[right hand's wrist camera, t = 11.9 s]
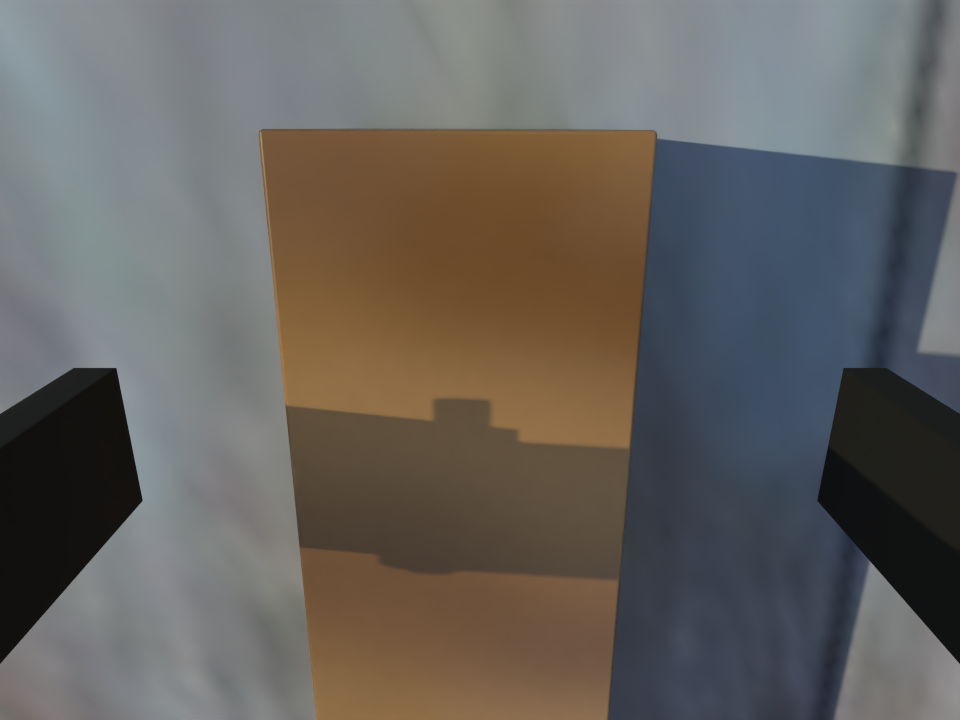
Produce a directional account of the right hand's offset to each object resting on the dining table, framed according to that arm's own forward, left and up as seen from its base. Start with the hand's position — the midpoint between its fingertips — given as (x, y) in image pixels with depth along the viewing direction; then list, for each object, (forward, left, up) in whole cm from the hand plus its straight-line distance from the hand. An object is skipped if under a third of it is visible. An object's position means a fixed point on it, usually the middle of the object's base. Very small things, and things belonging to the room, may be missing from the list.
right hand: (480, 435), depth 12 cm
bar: (+13, +22, -8) cm, 27 cm away
